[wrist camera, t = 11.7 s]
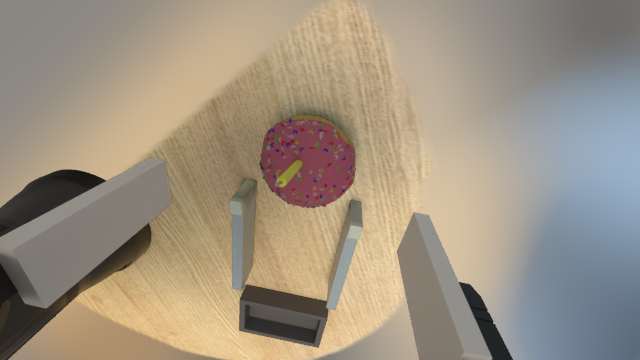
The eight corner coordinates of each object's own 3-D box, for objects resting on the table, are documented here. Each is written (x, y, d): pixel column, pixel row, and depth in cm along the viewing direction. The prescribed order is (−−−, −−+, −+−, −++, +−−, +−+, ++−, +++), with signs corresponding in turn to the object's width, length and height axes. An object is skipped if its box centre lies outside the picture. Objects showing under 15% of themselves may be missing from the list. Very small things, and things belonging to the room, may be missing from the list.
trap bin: (245, 315, 41) (239, 330, 39) (246, 284, 37) (239, 299, 35) (320, 331, 41) (318, 347, 38) (328, 302, 37) (327, 318, 35)
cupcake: (260, 121, 25) (196, 172, 15) (340, 91, 23) (331, 127, 13) (293, 191, 29) (260, 273, 18) (365, 171, 27) (375, 251, 16)
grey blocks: (244, 264, 35) (230, 292, 31) (246, 179, 29) (229, 200, 25) (337, 283, 35) (335, 314, 31) (361, 202, 28) (362, 227, 24)
